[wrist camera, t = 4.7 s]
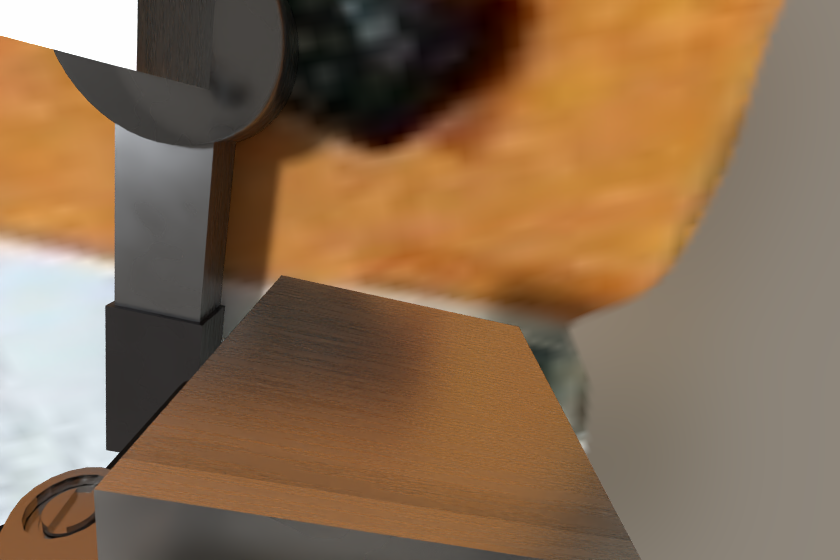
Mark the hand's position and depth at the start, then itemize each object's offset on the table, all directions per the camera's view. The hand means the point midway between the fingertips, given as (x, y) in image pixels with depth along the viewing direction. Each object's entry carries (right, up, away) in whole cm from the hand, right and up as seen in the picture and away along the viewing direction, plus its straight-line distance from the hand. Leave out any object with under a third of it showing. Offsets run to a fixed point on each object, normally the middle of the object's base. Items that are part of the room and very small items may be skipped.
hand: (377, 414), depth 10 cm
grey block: (0, 0, +1) cm, 1 cm away
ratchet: (-8, +6, +6) cm, 12 cm away
